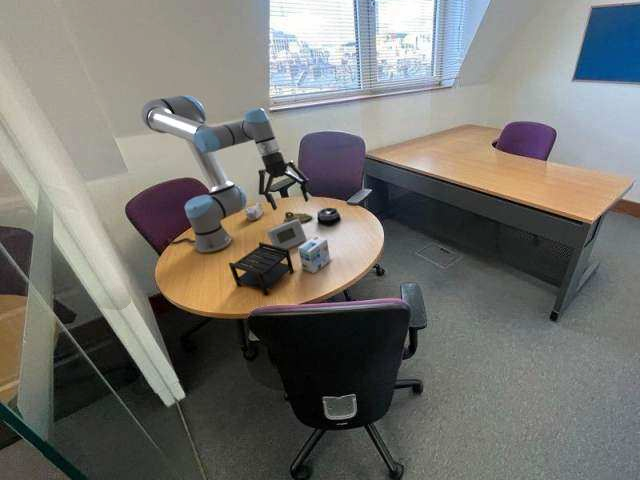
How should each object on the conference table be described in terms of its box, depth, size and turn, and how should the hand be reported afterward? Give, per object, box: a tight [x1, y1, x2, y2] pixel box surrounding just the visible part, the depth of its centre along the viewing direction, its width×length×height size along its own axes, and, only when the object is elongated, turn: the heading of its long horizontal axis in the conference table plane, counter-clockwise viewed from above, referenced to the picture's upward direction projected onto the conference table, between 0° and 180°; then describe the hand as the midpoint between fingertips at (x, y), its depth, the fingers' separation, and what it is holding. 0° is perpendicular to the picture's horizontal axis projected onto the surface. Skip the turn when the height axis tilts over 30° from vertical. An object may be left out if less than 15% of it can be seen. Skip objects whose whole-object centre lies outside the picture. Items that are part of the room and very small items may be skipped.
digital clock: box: [267, 219, 307, 252], centre depth 142 cm, size 16×9×11 cm, turn 123°
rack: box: [228, 241, 295, 297], centre depth 121 cm, size 15×16×11 cm
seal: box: [284, 211, 313, 224], centre depth 166 cm, size 9×5×15 cm
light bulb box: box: [297, 235, 331, 274], centre depth 128 cm, size 11×7×11 cm, turn 148°
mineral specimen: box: [244, 202, 264, 222], centre depth 170 cm, size 13×7×6 cm, turn 175°
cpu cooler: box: [316, 207, 341, 227], centre depth 162 cm, size 10×6×10 cm
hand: (291, 205), depth 125 cm, fingers open, 13 cm apart
